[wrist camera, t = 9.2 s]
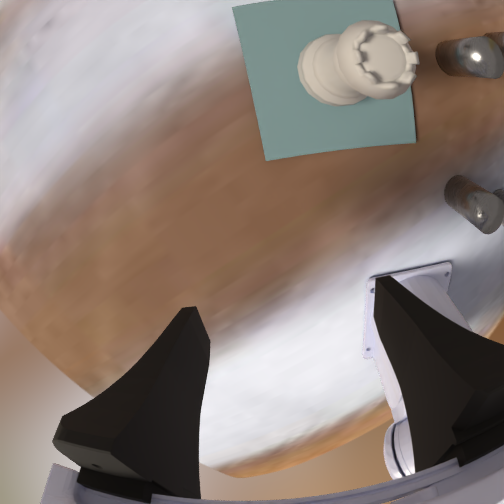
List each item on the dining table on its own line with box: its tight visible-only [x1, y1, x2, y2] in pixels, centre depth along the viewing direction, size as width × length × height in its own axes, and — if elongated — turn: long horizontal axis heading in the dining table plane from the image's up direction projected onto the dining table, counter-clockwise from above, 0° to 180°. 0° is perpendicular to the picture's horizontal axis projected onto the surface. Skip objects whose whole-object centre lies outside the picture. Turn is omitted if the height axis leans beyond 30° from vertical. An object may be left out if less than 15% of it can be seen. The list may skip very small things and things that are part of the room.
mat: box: [232, 0, 416, 161], centre depth 15 cm, size 10×10×1 cm
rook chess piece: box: [297, 20, 420, 107], centre depth 11 cm, size 4×4×8 cm
